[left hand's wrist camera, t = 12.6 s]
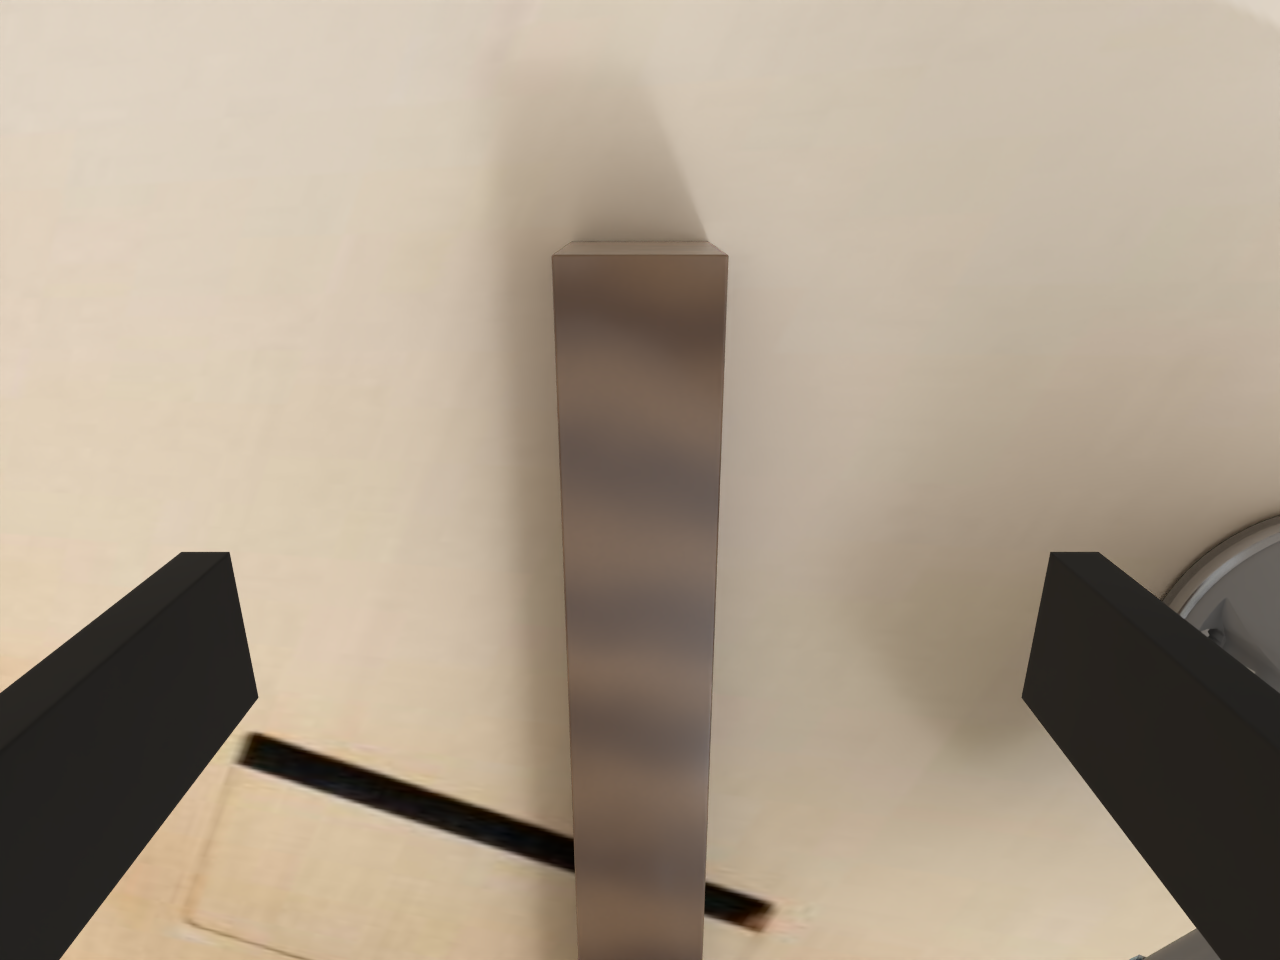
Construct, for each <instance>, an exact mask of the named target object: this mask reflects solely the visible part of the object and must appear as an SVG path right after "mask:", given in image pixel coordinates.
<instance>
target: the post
mask: <svg viewBox="0 0 1280 960" xmlns="http://www.w3.org/2000/svg"><path fill="white" fill-rule="evenodd" d="M552 277H553V303H554V330H555V356H556V382H557V409H558V435H559V461H560V487H561V514H562V540H563V566H564V593H565V619H566V645H567V672H568V698H569V724H570V751H571V777H572V803H573V830H574V856H575V882H576V909H577V935H578V960H702V954H703V927H704V900H705V873H706V847H707V820H708V793H709V766H710V739H711V712H712V685H713V658H714V631H715V604H716V577H717V550H718V523H719V496H720V469H721V442H722V415H723V388H724V361H725V334H726V307H727V280H728V255H727V254H726V253H724V252H723V251H721V250H720V249H718V248H717V247H716V246H714V245H713V244H711V243H710V242H708V241H599V242H571V243H569V244H568V245H566V246H565V247H563V248H562V249H560V250H559V251H558V252H556V253H555V254H553V255H552Z"/></svg>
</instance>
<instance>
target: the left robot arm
mask: <svg viewBox="0 0 1280 960" xmlns="http://www.w3.org/2000/svg"><path fill="white" fill-rule="evenodd" d="M257 699H258V693H257V688H256V683H255V678H254V673H253V668H252V663H251V658H250V653H249V648H248V643H247V638H246V633H245V628H244V623H243V618H242V613H241V608H240V603H239V598H238V593H237V588H236V582H235V577H234V572H233V567H232V562H231V557H230V552H181V553H180V554H178V555H177V556H176V557H175V558H173V559H172V560H171V561H169V562H168V563H167V564H166V565H164V566H163V567H162V568H160V569H159V570H158V571H157V572H155V573H154V574H153V575H151V576H150V577H149V578H148V579H146V580H145V581H144V582H142V583H141V584H140V585H139V586H137V587H136V588H135V589H133V590H132V591H131V592H130V593H128V594H127V595H126V596H124V597H123V598H122V599H121V600H119V601H118V602H117V603H115V604H114V605H113V606H112V607H110V608H109V609H108V610H106V611H105V612H104V613H103V614H101V615H100V616H99V617H97V618H96V619H95V620H94V621H92V622H91V623H90V624H89V625H87V626H86V627H85V628H83V629H82V630H81V631H80V632H78V633H77V634H76V635H74V636H73V637H72V638H71V639H69V640H68V641H67V642H65V643H64V644H63V645H62V646H60V647H59V648H58V649H56V650H55V651H54V652H53V653H51V654H50V655H49V656H47V657H46V658H45V659H44V660H42V661H41V662H40V663H38V664H37V665H36V666H35V667H33V668H32V669H31V670H29V671H28V672H27V673H26V674H24V675H23V676H22V677H20V678H19V679H18V680H17V681H15V682H14V683H13V684H11V685H10V686H9V687H8V688H6V689H5V690H4V691H2V692H1V693H0V960H59V959H60V958H61V957H62V956H63V954H64V953H65V952H66V950H67V949H68V948H69V946H70V945H71V944H72V942H73V941H74V940H75V938H76V937H77V936H78V934H79V933H80V932H81V931H82V929H83V928H84V927H85V925H86V924H87V923H88V921H89V920H90V919H91V917H92V916H93V915H94V913H95V912H96V911H97V909H98V908H99V907H100V905H101V904H102V903H103V902H104V900H105V899H106V898H107V896H108V895H109V894H110V892H111V891H112V890H113V888H114V887H115V886H116V884H117V883H118V882H119V880H120V879H121V878H122V877H123V875H124V874H125V873H126V871H127V870H128V869H129V867H130V866H131V865H132V863H133V862H134V861H135V859H136V858H137V857H138V855H139V854H140V853H141V851H142V850H143V849H144V848H145V846H146V845H147V844H148V842H149V841H150V840H151V838H152V837H153V836H154V834H155V833H156V832H157V830H158V829H159V828H160V826H161V825H162V824H163V823H164V821H165V820H166V819H167V817H168V816H169V815H170V813H171V812H172V811H173V809H174V808H175V807H176V805H177V804H178V803H179V801H180V800H181V799H182V797H183V796H184V795H185V794H186V792H187V791H188V790H189V788H190V787H191V786H192V784H193V783H194V782H195V780H196V779H197V778H198V776H199V775H200V774H201V772H202V771H203V770H204V769H205V767H206V766H207V765H208V763H209V762H210V761H211V759H212V758H213V757H214V755H215V754H216V753H217V751H218V750H219V749H220V747H221V746H222V745H223V744H224V742H225V741H226V740H227V738H228V737H229V736H230V734H231V733H232V732H233V730H234V729H235V728H236V726H237V725H238V724H239V722H240V721H241V720H242V718H243V717H244V716H245V715H246V713H247V712H248V711H249V709H250V708H251V707H252V705H253V704H254V703H255V701H256V700H257ZM1022 699H1023V700H1024V701H1025V703H1026V704H1027V705H1028V707H1029V708H1030V709H1031V711H1032V712H1033V713H1034V715H1035V716H1036V717H1037V718H1038V720H1039V721H1040V722H1041V724H1042V725H1043V726H1044V728H1045V729H1046V730H1047V732H1048V733H1049V734H1050V736H1051V737H1052V738H1053V740H1054V741H1055V742H1056V744H1057V745H1058V746H1059V747H1060V749H1061V750H1062V751H1063V753H1064V754H1065V755H1066V757H1067V758H1068V759H1069V761H1070V762H1071V763H1072V765H1073V766H1074V767H1075V769H1076V770H1077V771H1078V772H1079V774H1080V775H1081V776H1082V778H1083V779H1084V780H1085V782H1086V783H1087V784H1088V786H1089V787H1090V788H1091V790H1092V791H1093V792H1094V794H1095V795H1096V796H1097V797H1098V799H1099V800H1100V801H1101V803H1102V804H1103V805H1104V807H1105V808H1106V809H1107V811H1108V812H1109V813H1110V815H1111V816H1112V817H1113V819H1114V820H1115V821H1116V823H1117V824H1118V825H1119V826H1120V828H1121V829H1122V830H1123V832H1124V833H1125V834H1126V836H1127V837H1128V838H1129V840H1130V841H1131V842H1132V844H1133V845H1134V846H1135V848H1136V849H1137V850H1138V851H1139V853H1140V854H1141V855H1142V857H1143V858H1144V859H1145V861H1146V862H1147V863H1148V865H1149V866H1150V867H1151V869H1152V870H1153V871H1154V873H1155V874H1156V875H1157V877H1158V878H1159V879H1160V880H1161V882H1162V883H1163V884H1164V886H1165V887H1166V888H1167V890H1168V891H1169V892H1170V894H1171V895H1172V896H1173V898H1174V899H1175V900H1176V902H1177V903H1178V904H1179V905H1180V907H1181V908H1182V909H1183V911H1184V912H1185V913H1186V915H1187V916H1188V917H1189V919H1190V920H1191V921H1192V923H1193V924H1194V925H1195V927H1196V929H1195V930H1193V931H1191V932H1190V933H1188V934H1186V935H1184V936H1183V937H1181V938H1179V939H1177V940H1176V941H1174V942H1172V943H1171V944H1169V945H1167V946H1165V947H1164V948H1162V949H1160V950H1158V951H1157V952H1155V953H1153V954H1152V955H1150V956H1148V957H1143V956H1141V955H1138V956H1136V957H1133V958H1131V959H1130V960H1280V516H1277V517H1274V518H1271V519H1268V520H1265V521H1263V522H1260V523H1258V524H1256V525H1253V526H1251V527H1249V528H1247V529H1245V530H1243V531H1241V532H1239V533H1237V534H1235V535H1234V536H1232V537H1230V538H1229V539H1227V540H1225V541H1224V542H1222V543H1221V544H1219V545H1218V546H1216V547H1215V548H1214V549H1212V550H1211V551H1209V552H1208V553H1207V554H1206V555H1204V556H1203V557H1202V558H1201V559H1200V560H1198V561H1197V562H1196V563H1195V564H1194V565H1193V566H1192V567H1191V568H1190V569H1189V570H1188V571H1187V572H1186V573H1184V575H1183V576H1182V577H1181V578H1180V579H1179V580H1178V581H1177V582H1176V584H1175V585H1174V586H1173V587H1172V589H1171V590H1170V591H1169V593H1168V594H1167V595H1166V597H1165V598H1164V600H1163V601H1161V600H1159V599H1158V598H1157V597H1156V596H1154V595H1153V594H1152V593H1150V592H1149V591H1148V590H1147V589H1145V588H1144V587H1143V586H1141V585H1140V584H1139V583H1138V582H1136V581H1135V580H1134V579H1132V578H1131V577H1130V576H1129V575H1127V574H1126V573H1125V572H1123V571H1122V570H1121V569H1120V568H1118V567H1117V566H1116V565H1114V564H1113V563H1112V562H1111V561H1109V560H1108V559H1107V558H1105V557H1104V556H1103V555H1102V554H1100V553H1099V552H1050V557H1049V562H1048V567H1047V572H1046V577H1045V582H1044V588H1043V593H1042V598H1041V603H1040V608H1039V613H1038V618H1037V623H1036V628H1035V633H1034V638H1033V643H1032V648H1031V653H1030V658H1029V663H1028V668H1027V673H1026V678H1025V683H1024V688H1023V693H1022Z"/></svg>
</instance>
